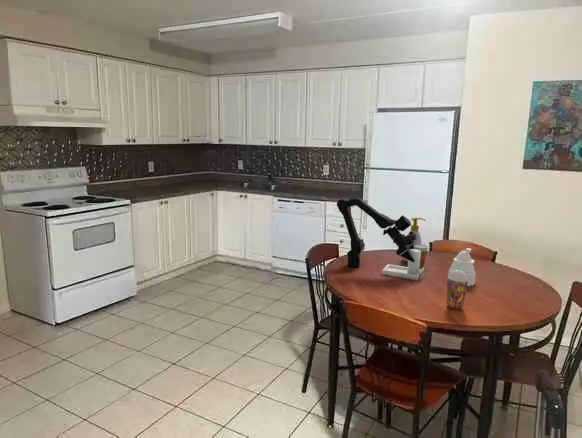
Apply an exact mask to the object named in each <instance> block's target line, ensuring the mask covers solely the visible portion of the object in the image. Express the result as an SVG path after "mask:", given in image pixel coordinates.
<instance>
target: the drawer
mask: <svg viewBox="0 0 582 438" xmlns="http://www.w3.org/2000/svg"><path fill="white" fill-rule="evenodd" d="M407 269H408V266H401V265H398V264H397V265H396V264H395V265H394V264H389V263H388V264H387V265H386V266H384V268H383V269H382V270H381V271H382V273H381V275H383V276H389V277H390V276H391V277H395V278H402V279H407V280H412V281H413V280H414V281H418V282H419V281H422V279H423V277H424V276H425V273H426V267H422V268H419V275H413V274H407Z"/></svg>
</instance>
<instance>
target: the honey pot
mask: <svg viewBox="0 0 582 438" xmlns="http://www.w3.org/2000/svg"><path fill="white" fill-rule="evenodd" d="M471 252H472V248H465V250H462V251H460V252H459V253H458V254H457V255H456V256H455V257H454V258H453V262H452V264H451V267H450V268H449V270H448V275H449V274H450V273H451V272H452V271H453V270H457V269H458V264H460V270H462V271H463V272H465V274H466V276H467V278H468V283H467V287H472V286H475V282H476V272H475V267H474V264H475V260H474V259H472V257H471V255H470V254H469V253H471ZM471 285H472V286H471Z"/></svg>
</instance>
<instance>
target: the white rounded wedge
mask: <svg viewBox="0 0 582 438" xmlns="http://www.w3.org/2000/svg"><path fill="white" fill-rule="evenodd" d="M410 254H411V255H412V257H413V259H414V260H415V262H411V261H410V260H408V263H407V267H408V269H407V274H413V275H419V269H420V268H419V267H420V256H421V251H420V250H417V249H410Z"/></svg>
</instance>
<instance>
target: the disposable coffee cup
mask: <svg viewBox="0 0 582 438" xmlns="http://www.w3.org/2000/svg"><path fill="white" fill-rule="evenodd" d="M414 249H417V250H420V251H421V256H420V267H419V269H422V268H423V267H424V266H425V262H426V257H427V254H428V250H429V246H428V245H426V244H422V243H421V244H414Z"/></svg>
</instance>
